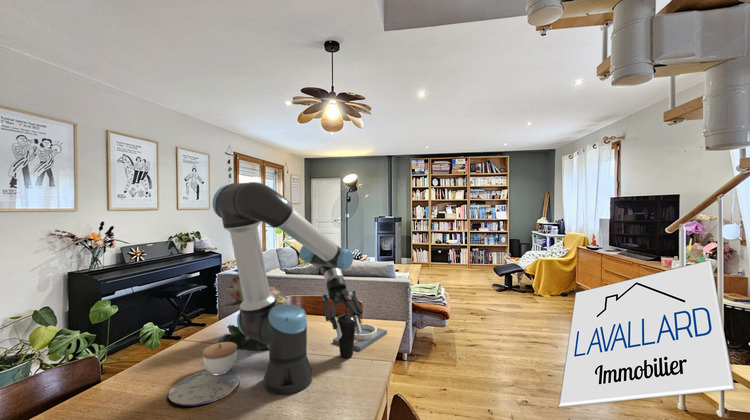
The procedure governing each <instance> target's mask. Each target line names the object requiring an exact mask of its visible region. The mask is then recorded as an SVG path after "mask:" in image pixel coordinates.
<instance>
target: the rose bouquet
mask: <svg viewBox="0 0 750 420" xmlns="http://www.w3.org/2000/svg"><path fill="white" fill-rule="evenodd" d="M232 282H233V283H234V284H233V285H229V286H228V287H223V290H228V292H229V294H230V296H231V297H232V298H233V299H235V301H234V302H228V303H225V304H223V305H222V307H223V308H224V307H229V306H238V305H239V306H240V305H241V303H242V302H243V300H244V299H243V294H242V289H241V284H240V279H239V274H238V273H237V276H235V277H233V278H232ZM269 291H270V293H271V294H273V295H274V296H275V298H276V303H277V306H278V305H283V304H288V305H291V301H289V300H287V299H286V297H284V294H282V292H281V291H280V290H278V289H276V287H275V286H269ZM209 316H211V314H210V315H209ZM226 328H227V330H228V332H229V333H225V334H223V336H222V337H221V338H220V339H218V340H217V343H222V342H232V343H235V344H236V345H237V351H244V350H254V351H262V350H267V349H269V345H268V344H265V343H263V342H260V341H257V340H255V339H252V338H249V337H247V336H246V335H244V334H243V333H242V332H241V331H240V330H239V328H238V326H235V325H234V324H232V325H231V324H228V326H227V327H226ZM217 343H216V344H217Z"/></svg>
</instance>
